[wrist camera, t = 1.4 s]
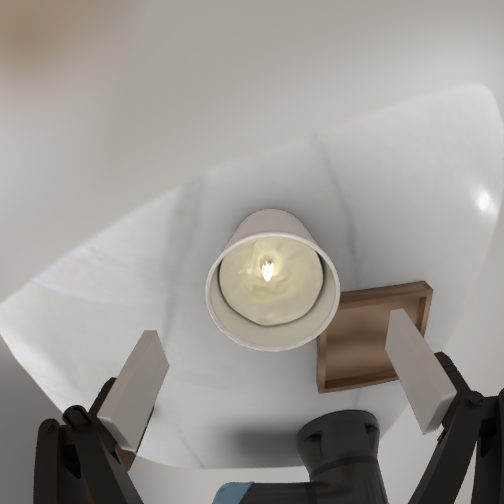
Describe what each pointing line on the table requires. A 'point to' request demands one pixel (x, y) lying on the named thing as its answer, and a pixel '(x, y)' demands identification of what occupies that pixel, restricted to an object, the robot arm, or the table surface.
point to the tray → (366, 335)
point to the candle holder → (272, 284)
